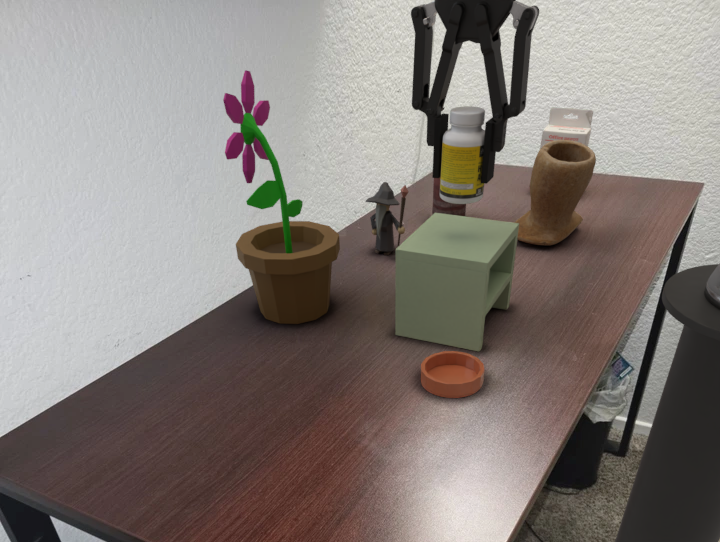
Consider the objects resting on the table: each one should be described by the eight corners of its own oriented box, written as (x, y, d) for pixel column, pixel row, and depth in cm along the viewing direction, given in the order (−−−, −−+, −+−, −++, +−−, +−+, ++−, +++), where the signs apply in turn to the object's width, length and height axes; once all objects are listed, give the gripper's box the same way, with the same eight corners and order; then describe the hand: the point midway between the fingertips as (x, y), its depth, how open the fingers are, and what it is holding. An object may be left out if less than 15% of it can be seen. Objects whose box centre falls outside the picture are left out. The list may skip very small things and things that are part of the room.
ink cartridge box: (532, 194, 132) (543, 112, 122) (538, 186, 135) (549, 106, 126) (576, 198, 129) (590, 115, 119) (580, 191, 132) (595, 108, 123)
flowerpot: (273, 282, 105) (245, 61, 85) (357, 293, 100) (348, 64, 81) (228, 322, 95) (185, 83, 75) (320, 337, 90) (299, 87, 71)
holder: (490, 372, 82) (492, 358, 81) (471, 403, 77) (472, 389, 76) (433, 360, 85) (434, 346, 84) (411, 390, 80) (411, 375, 79)
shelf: (509, 306, 96) (519, 223, 88) (479, 351, 86) (488, 263, 78) (431, 293, 100) (434, 212, 92) (395, 335, 90) (395, 249, 82)
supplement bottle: (482, 206, 79) (490, 115, 73) (437, 204, 80) (441, 115, 74) (484, 191, 83) (491, 104, 77) (441, 190, 84) (445, 104, 78)
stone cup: (563, 257, 108) (580, 159, 98) (498, 242, 114) (508, 148, 104) (598, 228, 117) (617, 136, 107) (537, 216, 123) (549, 127, 113)
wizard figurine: (361, 254, 112) (358, 180, 104) (377, 243, 115) (376, 170, 107) (404, 263, 108) (405, 187, 101) (419, 251, 112) (421, 176, 104)
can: (470, 216, 124) (476, 135, 114) (457, 228, 119) (463, 144, 110) (440, 212, 126) (443, 131, 117) (427, 223, 122) (429, 141, 112)
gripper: (378, -66, 66) (381, 178, 81) (564, -72, 59) (529, 195, 75) (407, -69, 71) (404, 161, 86) (581, -75, 64) (545, 176, 80)
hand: (462, 177), depth 80 cm, fingers closed on supplement bottle, 5 cm apart
